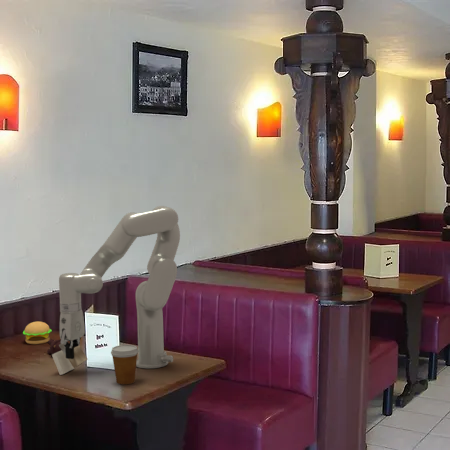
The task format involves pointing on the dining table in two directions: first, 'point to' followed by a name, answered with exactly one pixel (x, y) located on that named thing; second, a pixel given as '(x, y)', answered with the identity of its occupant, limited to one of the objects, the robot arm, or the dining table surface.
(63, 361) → the tile
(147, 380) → the dining table surface
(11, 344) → the dining table surface
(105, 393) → the dining table surface
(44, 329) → the hamburger
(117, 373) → the disposable coffee cup
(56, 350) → the icecream
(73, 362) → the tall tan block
